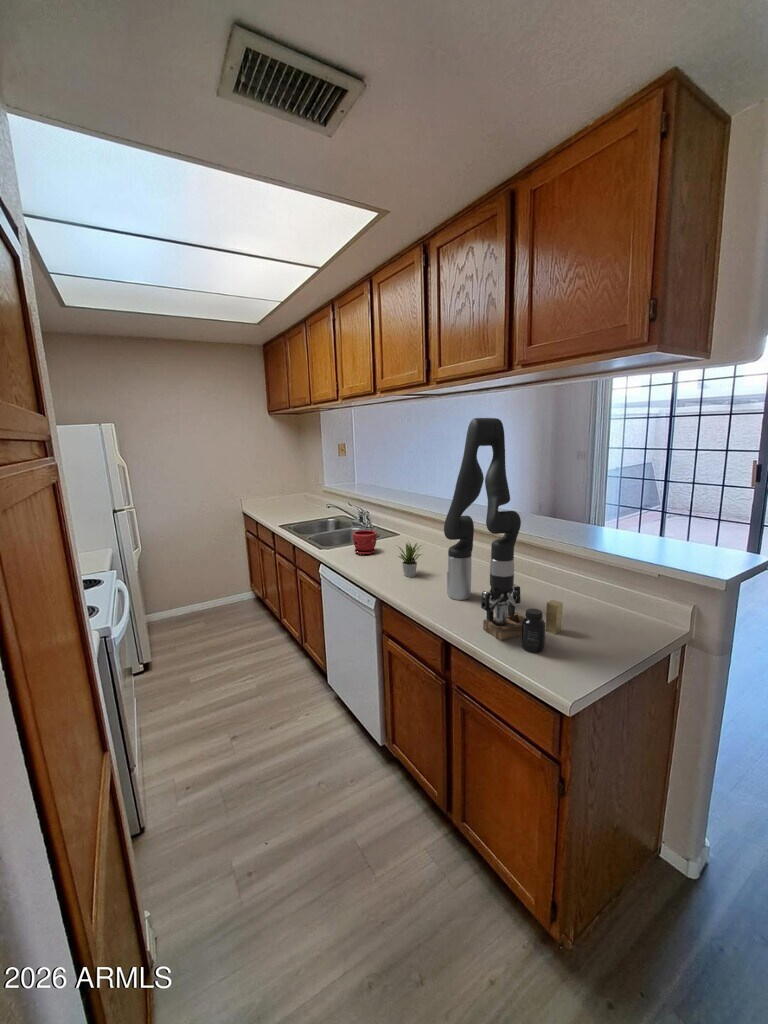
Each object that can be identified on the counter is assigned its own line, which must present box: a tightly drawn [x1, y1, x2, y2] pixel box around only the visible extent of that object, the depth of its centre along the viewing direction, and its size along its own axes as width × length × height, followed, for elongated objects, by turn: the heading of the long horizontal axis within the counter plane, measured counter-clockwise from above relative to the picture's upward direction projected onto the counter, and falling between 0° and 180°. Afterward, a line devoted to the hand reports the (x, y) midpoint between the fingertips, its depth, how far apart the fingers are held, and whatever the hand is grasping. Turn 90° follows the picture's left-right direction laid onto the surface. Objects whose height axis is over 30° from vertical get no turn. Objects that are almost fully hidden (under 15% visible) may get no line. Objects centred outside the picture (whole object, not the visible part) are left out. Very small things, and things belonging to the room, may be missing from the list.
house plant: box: [396, 540, 425, 578], centre depth 199 cm, size 14×14×16 cm
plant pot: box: [352, 529, 378, 555], centre depth 238 cm, size 13×13×12 cm
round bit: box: [494, 602, 508, 627], centre depth 141 cm, size 4×4×10 cm
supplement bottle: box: [520, 608, 546, 653], centre depth 131 cm, size 7×7×12 cm
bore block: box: [482, 611, 526, 642], centre depth 143 cm, size 9×14×4 cm, turn 115°
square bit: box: [545, 599, 564, 635], centre depth 142 cm, size 4×4×10 cm
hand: (500, 618), depth 141 cm, fingers open, 8 cm apart
